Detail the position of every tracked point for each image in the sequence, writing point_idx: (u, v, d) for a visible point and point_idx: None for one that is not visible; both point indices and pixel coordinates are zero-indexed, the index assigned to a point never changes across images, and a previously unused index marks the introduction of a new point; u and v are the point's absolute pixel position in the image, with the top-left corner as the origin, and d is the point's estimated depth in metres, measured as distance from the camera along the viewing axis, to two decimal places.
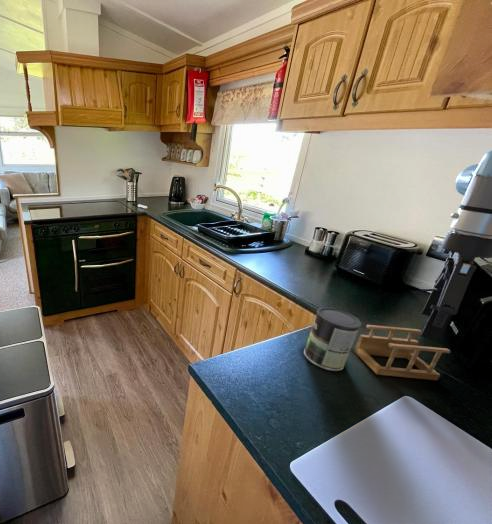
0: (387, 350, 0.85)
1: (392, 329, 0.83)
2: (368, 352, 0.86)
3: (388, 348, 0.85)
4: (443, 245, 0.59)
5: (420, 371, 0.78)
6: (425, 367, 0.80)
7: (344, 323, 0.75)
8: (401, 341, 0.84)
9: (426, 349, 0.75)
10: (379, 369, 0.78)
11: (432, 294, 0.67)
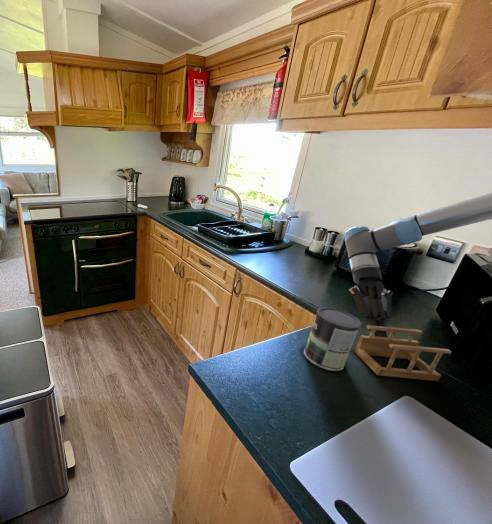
0: (387, 350, 0.85)
1: (393, 330, 0.83)
2: (368, 353, 0.86)
3: (389, 349, 0.85)
4: None
5: (420, 372, 0.77)
6: (426, 368, 0.80)
7: (344, 323, 0.75)
8: (402, 342, 0.84)
9: (427, 350, 0.75)
10: (380, 370, 0.77)
11: None
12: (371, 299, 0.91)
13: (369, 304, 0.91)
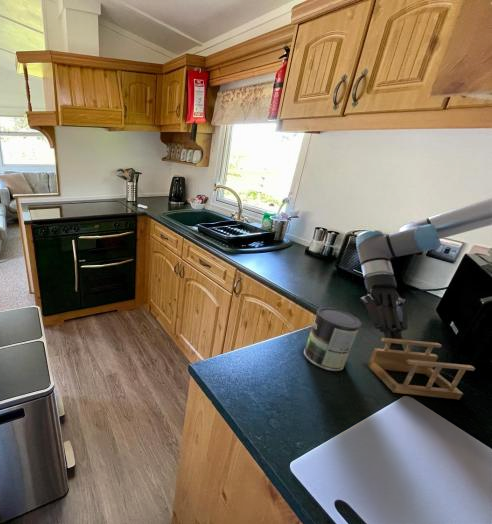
0: (403, 365, 0.79)
1: (409, 343, 0.77)
2: (383, 367, 0.80)
3: (405, 363, 0.79)
4: None
5: (440, 389, 0.72)
6: (446, 384, 0.74)
7: (344, 323, 0.75)
8: (419, 355, 0.78)
9: (448, 366, 0.69)
10: (396, 387, 0.72)
11: None
12: (385, 308, 0.85)
13: (383, 314, 0.85)
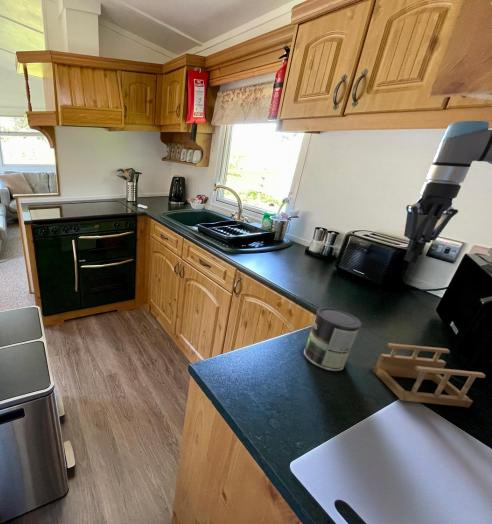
0: (410, 371, 0.77)
1: (417, 348, 0.75)
2: (389, 373, 0.78)
3: (412, 369, 0.77)
4: None
5: (449, 397, 0.69)
6: (455, 392, 0.72)
7: (344, 323, 0.75)
8: (426, 361, 0.76)
9: (458, 373, 0.67)
10: (404, 394, 0.70)
11: None
12: (426, 220, 0.83)
13: (420, 225, 0.84)
